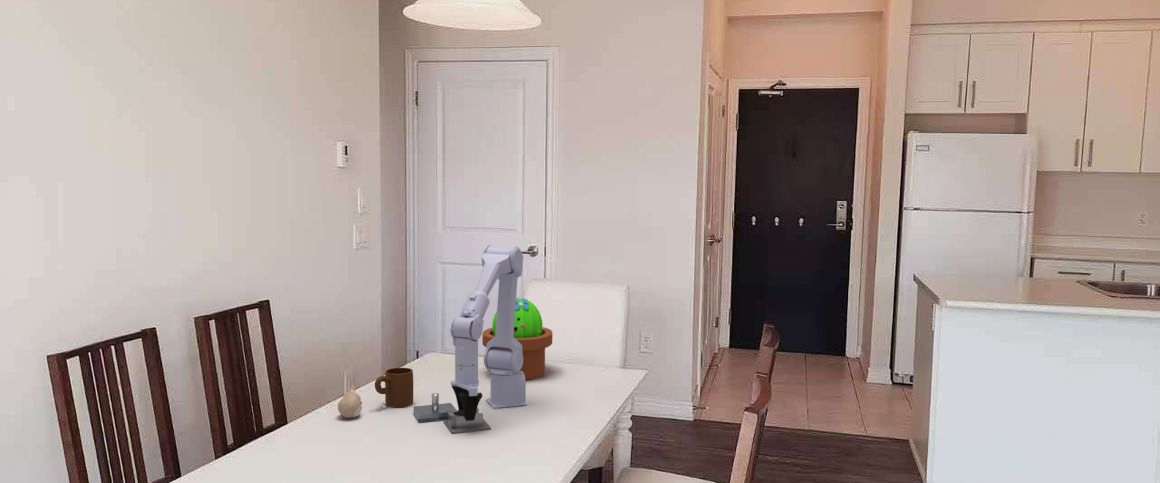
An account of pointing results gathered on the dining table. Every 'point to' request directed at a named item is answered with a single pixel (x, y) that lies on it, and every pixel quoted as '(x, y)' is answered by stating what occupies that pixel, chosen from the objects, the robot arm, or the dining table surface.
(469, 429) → the mat
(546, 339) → the potted cactus
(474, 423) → the gray tabletop stand
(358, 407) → the garlic bulb
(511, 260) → the robot arm
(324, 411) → the dining table surface
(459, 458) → the dining table surface
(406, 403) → the mug
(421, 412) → the metal base with post
